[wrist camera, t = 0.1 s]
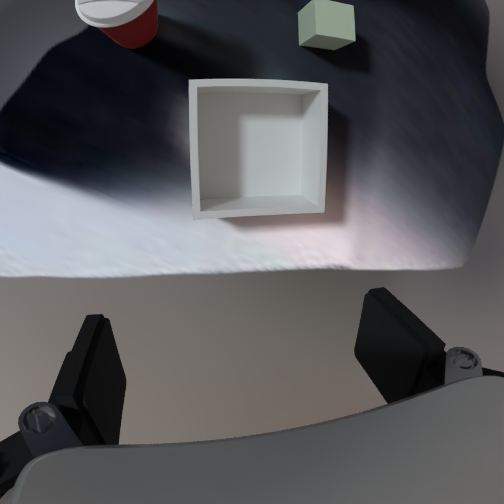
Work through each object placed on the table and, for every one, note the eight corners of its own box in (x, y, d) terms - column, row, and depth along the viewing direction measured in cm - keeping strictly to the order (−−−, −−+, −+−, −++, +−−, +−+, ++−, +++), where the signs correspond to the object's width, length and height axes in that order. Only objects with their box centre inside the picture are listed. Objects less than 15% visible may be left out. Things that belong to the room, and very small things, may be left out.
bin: (188, 88, 35) (188, 79, 28) (305, 90, 37) (327, 84, 31) (192, 204, 40) (193, 219, 34) (304, 199, 43) (324, 212, 36)
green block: (298, 12, 33) (314, -3, 28) (333, 18, 34) (353, 5, 28) (299, 45, 35) (316, 34, 29) (334, 50, 36) (355, 40, 30)
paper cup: (177, 13, 31) (174, -38, 18) (149, 64, 33) (130, 32, 20) (123, -3, 28) (98, -53, 15) (95, 47, 30) (54, 14, 17)
